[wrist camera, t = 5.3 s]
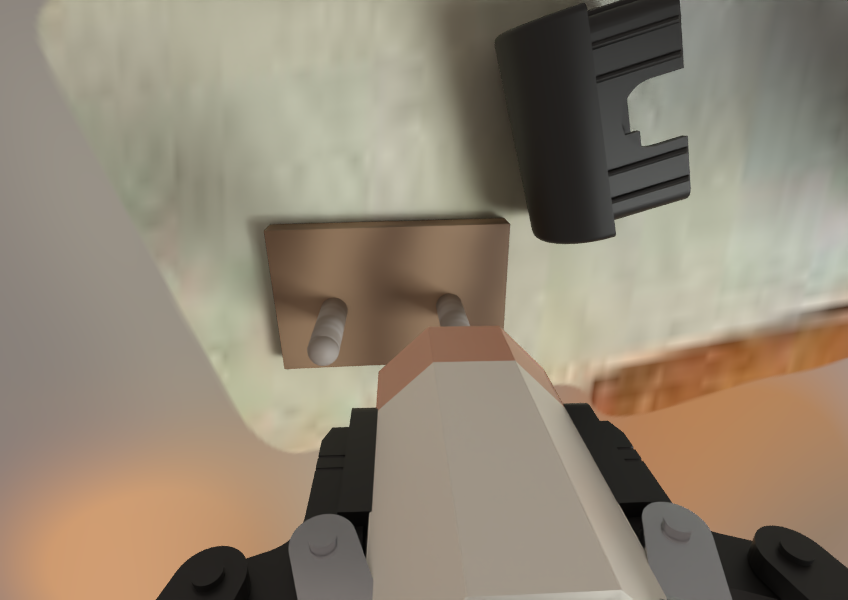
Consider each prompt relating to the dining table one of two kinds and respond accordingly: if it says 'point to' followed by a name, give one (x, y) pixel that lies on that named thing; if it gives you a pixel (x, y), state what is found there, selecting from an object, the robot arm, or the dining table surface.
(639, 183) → the end cap
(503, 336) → the sleeve
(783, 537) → the robot arm
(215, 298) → the dining table surface
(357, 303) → the pin board
